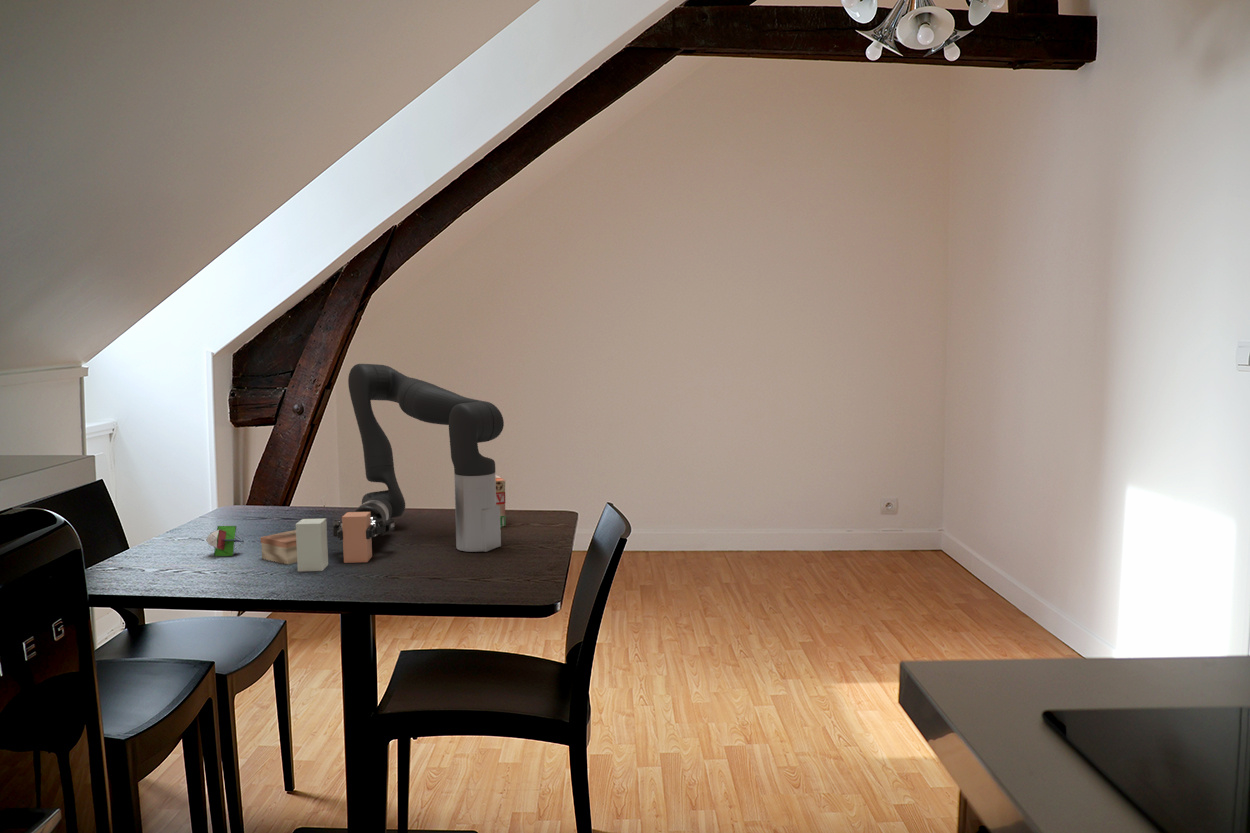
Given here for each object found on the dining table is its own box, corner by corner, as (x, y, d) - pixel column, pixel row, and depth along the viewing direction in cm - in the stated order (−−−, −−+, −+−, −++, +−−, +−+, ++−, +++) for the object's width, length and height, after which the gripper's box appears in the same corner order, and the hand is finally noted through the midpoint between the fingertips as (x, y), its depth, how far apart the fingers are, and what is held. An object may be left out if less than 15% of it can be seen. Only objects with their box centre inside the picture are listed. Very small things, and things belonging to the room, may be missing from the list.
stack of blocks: (461, 514, 247) (460, 469, 246) (484, 512, 250) (483, 467, 249) (482, 529, 228) (480, 481, 227) (506, 527, 230) (505, 479, 229)
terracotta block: (372, 556, 202) (370, 511, 201) (367, 562, 197) (365, 516, 196) (349, 556, 201) (347, 512, 200) (343, 562, 196) (341, 516, 195)
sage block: (328, 564, 195) (326, 518, 194) (322, 570, 190) (320, 523, 189) (304, 565, 195) (302, 519, 194) (297, 571, 190) (295, 524, 189)
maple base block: (323, 556, 203) (322, 534, 202) (287, 565, 195) (286, 542, 195) (297, 551, 208) (296, 529, 208) (261, 559, 200) (260, 537, 200)
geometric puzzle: (221, 539, 209) (209, 516, 204) (251, 539, 209) (239, 516, 204) (210, 564, 204) (198, 541, 199) (240, 564, 204) (229, 541, 198)
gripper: (338, 503, 212) (319, 518, 195) (401, 501, 213) (387, 516, 196) (339, 535, 212) (321, 553, 195) (402, 533, 213) (389, 551, 197)
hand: (354, 534), depth 196 cm, fingers closed on terracotta block, 5 cm apart
